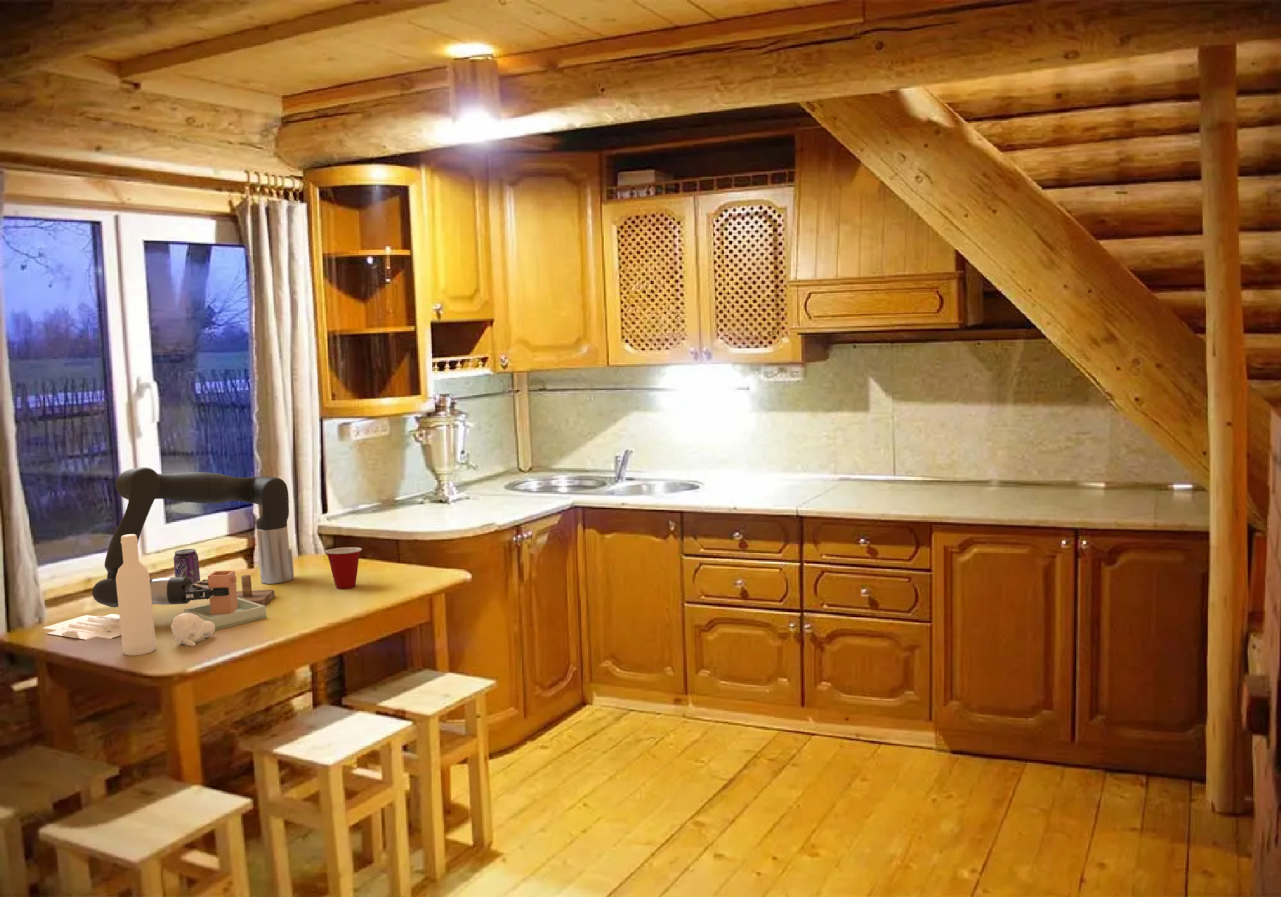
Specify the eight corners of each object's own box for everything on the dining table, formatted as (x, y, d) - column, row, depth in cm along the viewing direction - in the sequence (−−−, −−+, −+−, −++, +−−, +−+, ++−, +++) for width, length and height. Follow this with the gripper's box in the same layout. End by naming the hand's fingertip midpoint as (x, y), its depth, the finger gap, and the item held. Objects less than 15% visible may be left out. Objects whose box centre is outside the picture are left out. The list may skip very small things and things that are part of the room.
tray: (238, 608, 324) (237, 597, 323) (266, 617, 313) (265, 606, 313) (184, 621, 312) (183, 609, 312) (211, 631, 301) (210, 619, 301)
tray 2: (96, 614, 325) (95, 602, 325) (165, 627, 313) (164, 615, 312) (31, 634, 307) (30, 621, 307) (101, 649, 295) (100, 635, 294)
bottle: (115, 653, 284) (104, 537, 280) (142, 645, 291) (131, 531, 287) (137, 657, 280) (125, 539, 276) (163, 648, 287) (152, 533, 283)
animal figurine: (167, 614, 288) (204, 606, 298) (168, 646, 288) (205, 637, 299) (184, 616, 285) (221, 609, 295) (184, 648, 285) (221, 640, 296)
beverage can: (172, 589, 350) (168, 551, 348) (194, 584, 355) (191, 547, 353) (182, 592, 345) (179, 554, 343) (204, 588, 350) (201, 550, 348)
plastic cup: (369, 582, 350) (366, 544, 348) (357, 591, 339) (354, 552, 337) (335, 582, 351) (332, 544, 349) (322, 591, 340) (319, 552, 339)
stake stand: (234, 598, 336) (231, 572, 335) (274, 596, 336) (272, 570, 335) (220, 608, 324) (218, 581, 323) (262, 607, 324) (260, 580, 323)
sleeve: (217, 609, 315) (214, 571, 314) (241, 608, 315) (238, 570, 314) (210, 615, 309) (207, 576, 308) (234, 614, 310) (231, 575, 308)
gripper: (159, 584, 304) (222, 581, 304) (179, 571, 318) (239, 569, 318) (161, 611, 304) (224, 608, 305) (181, 597, 319) (241, 595, 319)
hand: (231, 588), depth 312 cm, fingers closed on sleeve, 5 cm apart
